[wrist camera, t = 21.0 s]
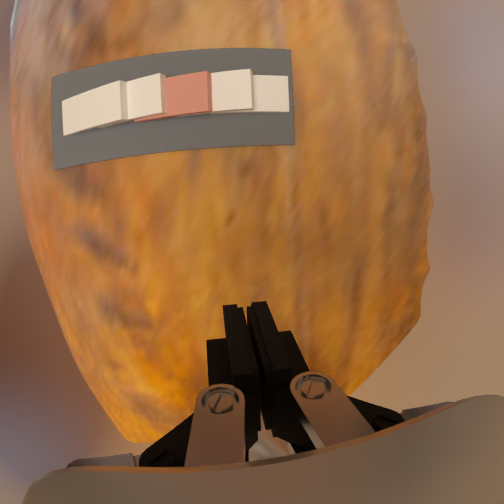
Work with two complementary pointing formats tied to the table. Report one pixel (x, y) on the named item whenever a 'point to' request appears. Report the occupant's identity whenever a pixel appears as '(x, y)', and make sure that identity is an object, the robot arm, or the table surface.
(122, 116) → the domino
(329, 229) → the table surface
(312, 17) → the table surface
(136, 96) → the domino
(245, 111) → the domino
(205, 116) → the domino mat
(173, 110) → the domino
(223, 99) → the domino
